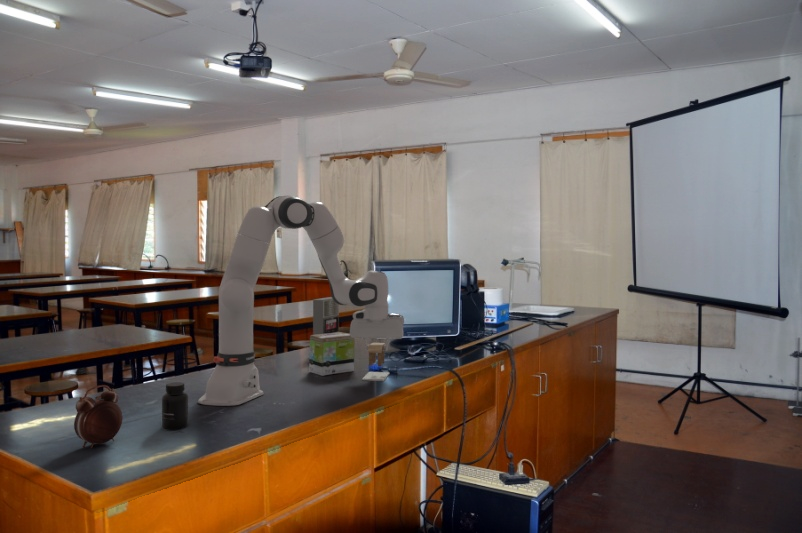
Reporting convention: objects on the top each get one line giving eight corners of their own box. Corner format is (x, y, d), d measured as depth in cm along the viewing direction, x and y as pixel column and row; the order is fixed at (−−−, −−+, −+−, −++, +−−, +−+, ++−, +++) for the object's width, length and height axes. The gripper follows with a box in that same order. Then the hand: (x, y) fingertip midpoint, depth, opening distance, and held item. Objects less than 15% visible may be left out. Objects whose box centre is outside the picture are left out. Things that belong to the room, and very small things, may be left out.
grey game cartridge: (324, 356, 270) (324, 300, 269) (312, 355, 272) (312, 299, 271) (340, 351, 282) (340, 297, 281) (329, 350, 285) (329, 297, 284)
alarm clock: (112, 437, 159) (111, 380, 158) (124, 440, 156) (123, 382, 156) (72, 449, 149) (71, 389, 149) (84, 453, 147) (82, 391, 146)
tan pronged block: (381, 366, 226) (381, 346, 225) (368, 365, 227) (368, 345, 226) (385, 362, 233) (385, 343, 232) (372, 362, 233) (372, 342, 233)
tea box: (323, 376, 230) (323, 338, 229) (308, 372, 238) (308, 334, 237) (355, 371, 240) (355, 334, 239) (340, 367, 248) (340, 331, 247)
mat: (383, 381, 223) (383, 379, 223) (362, 380, 224) (362, 378, 224) (389, 374, 235) (389, 372, 235) (369, 373, 236) (369, 371, 236)
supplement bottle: (162, 432, 163) (161, 387, 163) (161, 424, 169) (160, 382, 169) (189, 429, 166) (188, 385, 165) (187, 422, 172) (187, 380, 172)
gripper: (404, 312, 231) (404, 349, 231) (351, 312, 233) (351, 348, 233) (403, 315, 225) (403, 352, 225) (348, 314, 226) (348, 351, 227)
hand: (376, 350), depth 229 cm, fingers closed on tan pronged block, 5 cm apart
